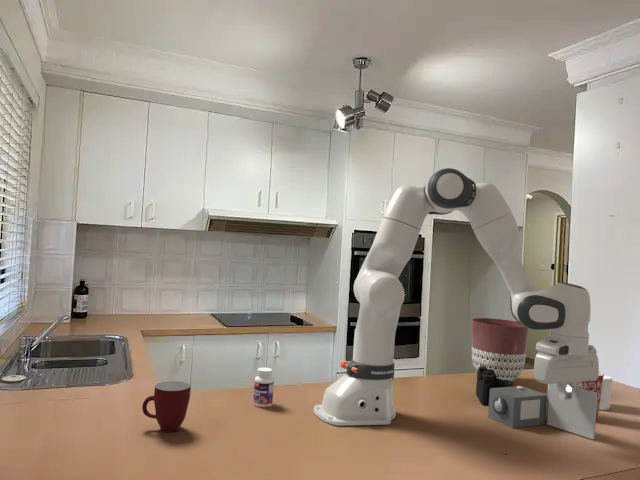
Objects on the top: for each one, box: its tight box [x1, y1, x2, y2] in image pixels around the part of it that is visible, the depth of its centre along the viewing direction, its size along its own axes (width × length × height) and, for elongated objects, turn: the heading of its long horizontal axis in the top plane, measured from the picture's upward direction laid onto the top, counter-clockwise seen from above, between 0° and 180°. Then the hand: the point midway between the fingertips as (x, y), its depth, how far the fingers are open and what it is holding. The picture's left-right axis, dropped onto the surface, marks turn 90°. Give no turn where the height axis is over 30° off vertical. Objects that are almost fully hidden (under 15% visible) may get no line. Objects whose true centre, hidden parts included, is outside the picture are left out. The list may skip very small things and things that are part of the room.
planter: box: [471, 317, 530, 382], centre depth 184 cm, size 20×20×21 cm
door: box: [545, 384, 597, 440], centre depth 135 cm, size 13×2×12 cm, turn 38°
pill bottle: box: [252, 367, 275, 408], centre depth 141 cm, size 5×5×10 cm
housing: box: [487, 385, 547, 429], centre depth 141 cm, size 13×9×9 cm
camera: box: [475, 365, 514, 407], centre depth 160 cm, size 14×11×10 cm
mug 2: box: [576, 371, 605, 422], centre depth 150 cm, size 13×9×14 cm
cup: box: [599, 374, 613, 411], centre depth 161 cm, size 10×10×10 cm
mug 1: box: [141, 380, 191, 433], centre depth 119 cm, size 11×8×10 cm
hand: (565, 398), depth 133 cm, fingers closed
